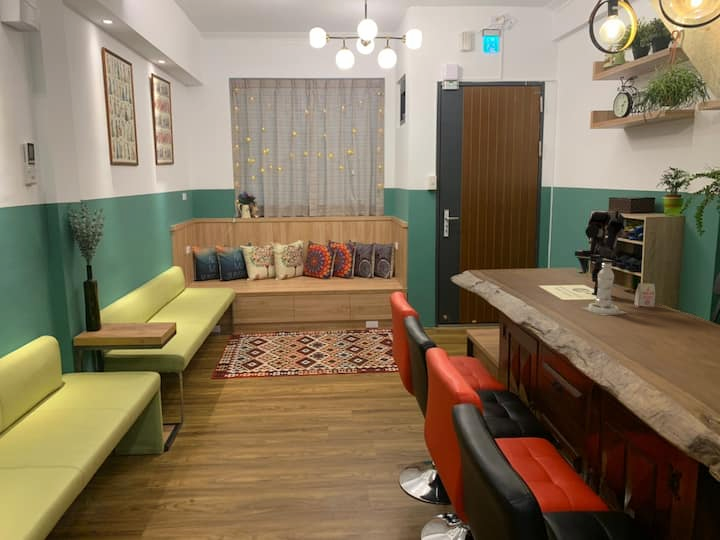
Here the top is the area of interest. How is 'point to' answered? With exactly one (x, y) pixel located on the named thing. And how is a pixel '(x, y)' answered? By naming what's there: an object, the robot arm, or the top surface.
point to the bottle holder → (603, 310)
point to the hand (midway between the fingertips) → (593, 274)
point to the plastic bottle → (604, 286)
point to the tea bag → (645, 295)
